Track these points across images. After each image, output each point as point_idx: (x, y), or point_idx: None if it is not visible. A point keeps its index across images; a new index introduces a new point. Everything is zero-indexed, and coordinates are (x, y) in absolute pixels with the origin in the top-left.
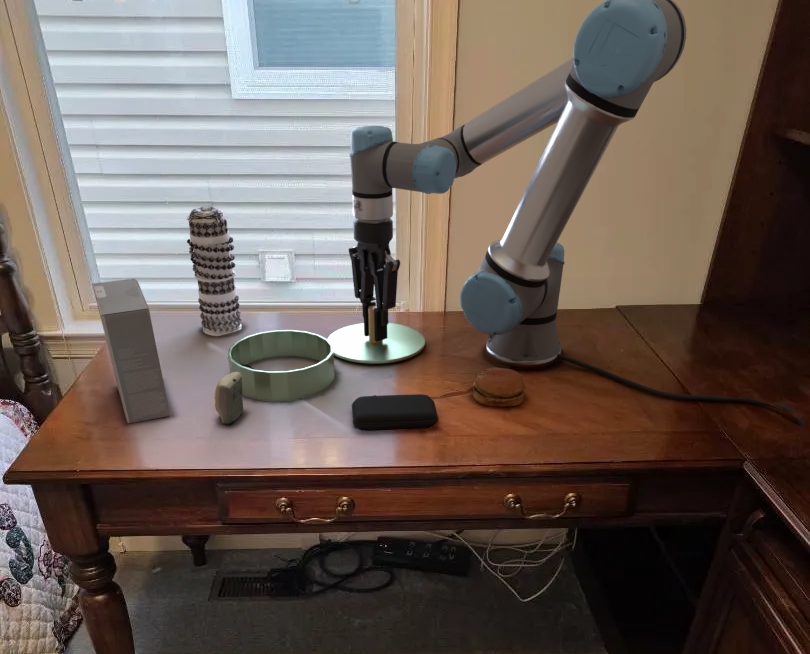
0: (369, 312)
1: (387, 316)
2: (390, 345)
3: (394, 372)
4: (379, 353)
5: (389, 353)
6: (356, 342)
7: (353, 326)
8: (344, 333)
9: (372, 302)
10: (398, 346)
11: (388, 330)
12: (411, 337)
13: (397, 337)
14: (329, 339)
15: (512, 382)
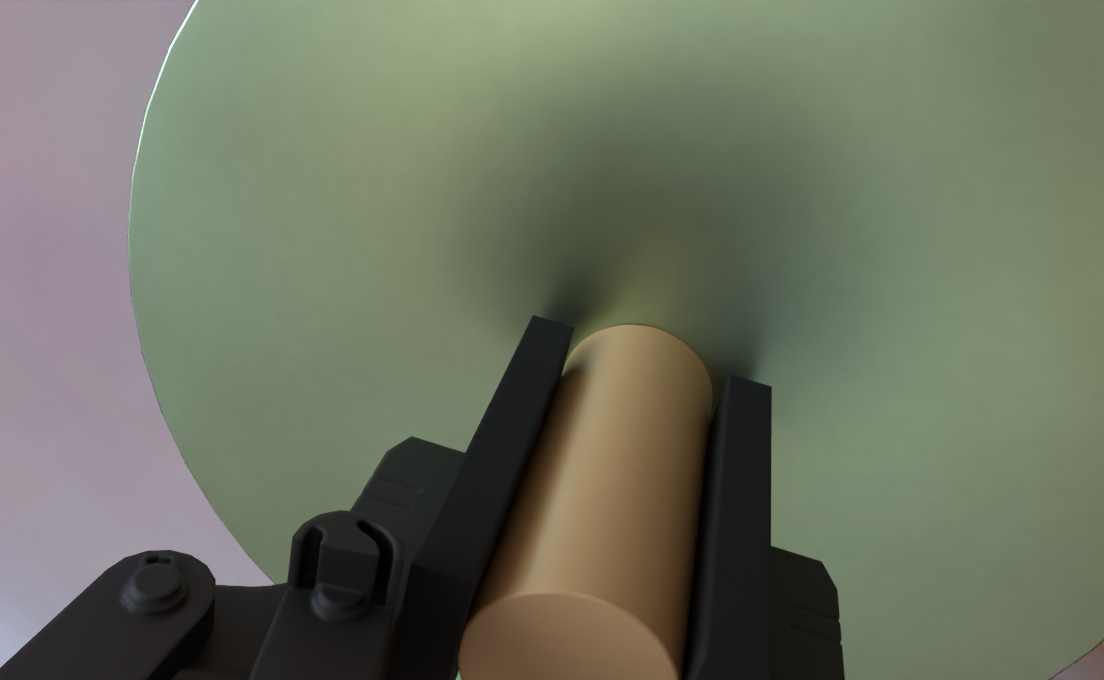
0: None
1: (839, 672)
2: (859, 427)
3: (1089, 659)
4: (860, 621)
5: (957, 587)
6: None
7: (175, 190)
8: (258, 393)
9: (412, 586)
10: (960, 409)
11: (575, 63)
12: (985, 93)
13: (808, 194)
14: (268, 555)
15: None
